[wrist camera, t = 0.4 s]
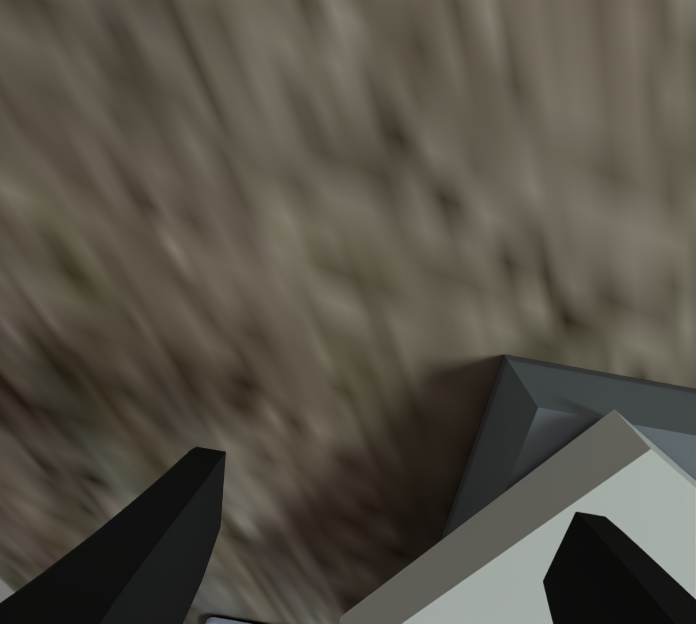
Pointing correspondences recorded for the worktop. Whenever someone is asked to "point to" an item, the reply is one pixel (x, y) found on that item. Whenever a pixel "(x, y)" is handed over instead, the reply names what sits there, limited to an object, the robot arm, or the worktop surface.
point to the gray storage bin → (563, 424)
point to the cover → (546, 534)
